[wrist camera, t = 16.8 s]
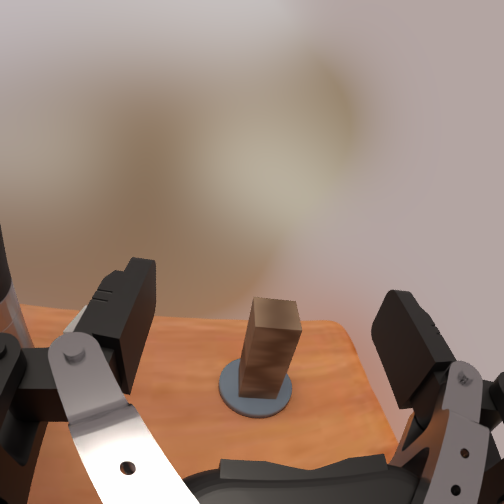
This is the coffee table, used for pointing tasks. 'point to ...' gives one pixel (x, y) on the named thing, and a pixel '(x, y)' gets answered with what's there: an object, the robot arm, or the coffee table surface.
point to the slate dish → (251, 405)
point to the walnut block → (268, 347)
